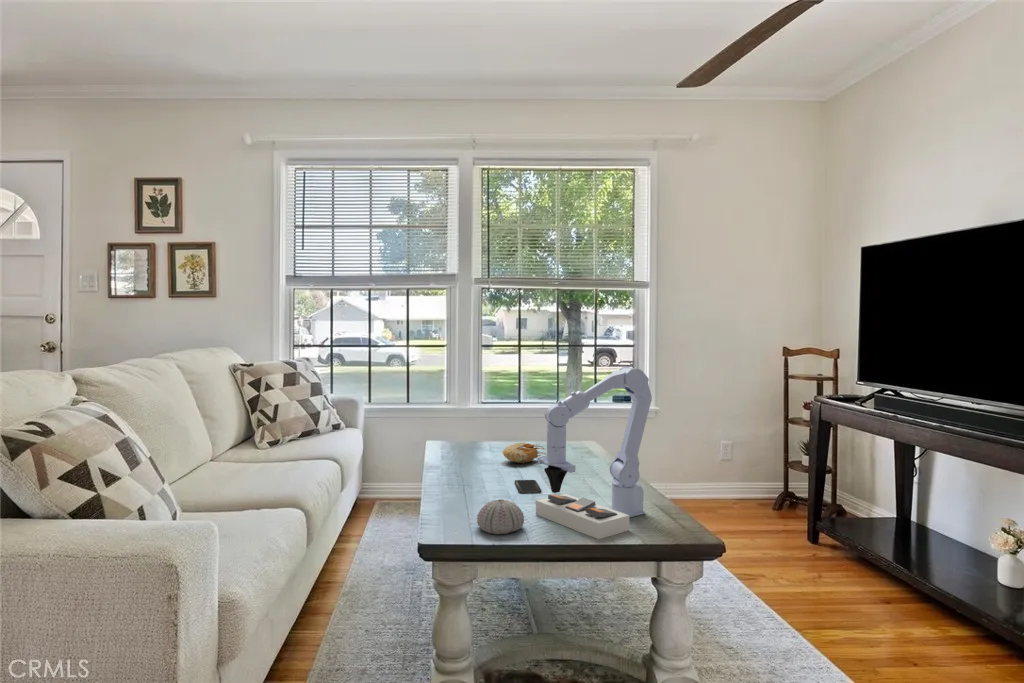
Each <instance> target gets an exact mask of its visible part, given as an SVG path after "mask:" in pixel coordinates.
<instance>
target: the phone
mask: <svg viewBox="0 0 1024 683" xmlns="http://www.w3.org/2000/svg"><path fill="white" fill-rule="evenodd" d="M514 485H515V487H516V490H517V492H518V494H542V488H541V487H540V485H539V484H538V482H537V480H536V479H518V480H517V479H515V480H514Z"/></svg>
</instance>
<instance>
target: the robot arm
mask: <svg viewBox="0 0 1024 683" xmlns="http://www.w3.org/2000/svg"><path fill="white" fill-rule="evenodd" d="M649 380H650V379H649V377H648V376H647V374H646V373H645V372H644V371H643V370H642V369H640V368H633V367H629V366H622V367H620V368H619V369H618V370H614V371H613V372H611V373H610V374H608V375H607V376H605V377H604V378H602V379H601V380H599V381H598V382H597V383H595V384H594V385H592V386H591V387H589V388H588V389H586V390H585V391H581V390H577V391H572V392H570V395H569V396H567V397H566V398H564V399H562V400H558V401H557V402H556V403H557V404H553V405H550V406H548V407H547V410H546V411H545V414H544V417H545V420H546V421H547V422H546V424H547V425H546V426H547V427H546V456H547V457H544V455H541V456H538V457H537V464H539V465H541V464H542V465H544V466H547V467H545V468H544V472H545V474H546V476H547V479H548V482H549V485H550V490H551V492H552V493H554V494H557V493H560V491H561V488H562V486H563V485H562V484H563V481H564V479H565V476H566V475H567V474H568V473H570V474H571V473H576V464H573V463H571V462H569V461H567V424H568V422H569V420H570V419H572V418H573V417H575V416H577V415H578V414H580V413H582V412H584V411H585V410H586V409H588V408H589V406H590V403H591V401H594V400H595V399H597V398H599V397H600V396H602V395H604V394H606V393H607V392H609V391H611V390H613V389H624V390H625V391H626V392H627V393H628V395H629V396H630V398H631V399H632V402H631V407H630V411H629V415H628V418H627V423H626V425H625V426H626V427H625V430H624V434H623V438H622V443H621V446H620V450H619V451H618V452H617V453H616V455H615V458H614V459H613V461H612V462H611V463H610V466H609V473H610V475H611V477H612V478H613V479H612V482H611V509H612V510H615V511H618V512H621V513H624V514H627V515H629V519H630V518H633V517H637V516H641V515H644V514H646V511H645V510H644V501H645V500H644V488H643V487H642V485H641V484H640V483H639V479H640V471H639V467H640V460H639V459H640V458H639V456H638V455H639V451H640V447H641V443H642V439H643V436H644V435H643V434H644V432H645V428H646V423H647V419H648V416H649V412H650V408H651V403H652V400H653V398H652V392H651V389H650V384H649Z"/></svg>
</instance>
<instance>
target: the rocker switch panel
mask: <svg viewBox="0 0 1024 683" xmlns="http://www.w3.org/2000/svg"><path fill="white" fill-rule="evenodd" d="M559 496H567V497H570V498H573V499H576V500H579V499H580V498H579V497H576V496H573V495H571V494H566V493H563V494H560V495H559ZM572 503H573V502H572ZM569 504H571V503H567V504H565V503H558V502H555V501H552V500H550V499H548V497H545V498H541V499H536V500H535V515H537V516H538V517H541V518H544V519H546V520H549V521H551V522H554V523H557V524H558V525H561V526H564V527H566V528H569V529H572V530H574V531H576V532H579V533H582V534H584V535H587V536H589V537H590V538H595V539H597V540H601V539H604V538H608V537H612V536H615V535H618V534H621V533H625V532H628V531H630V518H629V515H627V514H624V513H621V512H618V511H615V510H612V508H608V507H607V506H603V505H600V504H597V503H595V504H596V505H595V506H594V507H592V508H597V509H606V510H609V511H612V512H614V513H617V515H615V516H611V517H607V518H605V517H597V516H595V515H592V514H589V513H586V510H585V511H581V512H575V511H572V510H570V509H567V508H566V506H567V505H569Z"/></svg>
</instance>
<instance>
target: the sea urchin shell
mask: <svg viewBox="0 0 1024 683" xmlns="http://www.w3.org/2000/svg"><path fill="white" fill-rule="evenodd" d="M476 523H477V526H478V527H479V529H481V530H482V531H484V532H485V533H487V534H491V535H507V534H509V533H515V532H516V531H518V530H520V529H521V528H522V527H523V526H524V524H525V515H524V512H523V511H522V510H521V508H520V506H518V505H517V504H516V503H514V501H511V500H506V499H503V498H502V499H501V498H500V499H495V500H491V501H489V502H487V503H486V504H485V505H483V506H482V507H481V508H480V510H479V512H478V513H477V516H476Z"/></svg>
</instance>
